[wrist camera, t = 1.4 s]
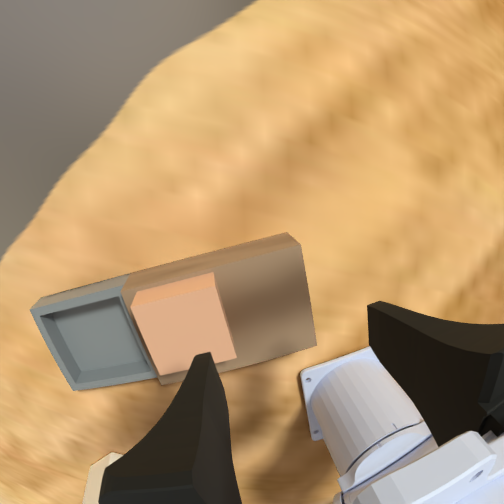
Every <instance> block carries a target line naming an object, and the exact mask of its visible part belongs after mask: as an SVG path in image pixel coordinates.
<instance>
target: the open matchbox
mask: <svg viewBox="0 0 504 504" xmlns="http://www.w3.org/2000/svg"><path fill="white" fill-rule="evenodd" d="M211 272H214V276H215V279H216V283H217V286H218V290H219V293H220V297H221V300H222V304H223V307H224V310H225V314H226V317H227V321H228V324H229V327H230V331H231V334H232V337H233V341H234V346H235V351H236V356H237V358H235V359H231V360H227V361H223V362H219V363H215V366H216V369H217V371H218V373H221V372H225V371H229V370H233V369H237V368H241V367H245V366H249V365H252V364H256V363H260V362H264V361H267V360H271V359H274V358H278V357H281V356H285V355H288V354H291V353H295V352H298V351H301V350H304V349H308V348H311V347H314V346H317V342H316V335H315V328H314V322H313V315H312V309H311V302H310V296H309V290H308V284H307V278H306V272H305V266H304V260H303V255H302V249H301V244H300V243H298V242H297V241H296V240H295V239H294V238H293V237H292V236H291V235H289V234H288V233H287V232H286V233H283V234H279V235H275V236H271V237H267V238H263V239H259V240H255V241H251V242H248V243H244V244H240V245H236V246H232V247H228V248H224V249H221V250H217V251H213V252H209V253H205V254H201V255H198V256H194V257H190V258H186V259H182V260H179V261H175V262H171V263H167V264H164V265H160V266H156V267H152V268H149V269H145V270H141V271H137V272H134V273H130V275H129V277H128V279H127V280H126V282H125V284H124V286H123V288H122V290H121V291H120V292H121V294H122V297H123V299H124V302H125V304H126V307H127V309H128V312H129V314H130V317H131V319H132V322H133V324H134V326H135V329H136V331H137V333H138V336H139V338H140V340H141V343H142V345H143V347H144V349H145V352H146V354H147V356H148V358H149V360H150V362H151V365H152V367H153V369H154V371H155V373H156V375H157V377H158V379H159V381H160V383H161V385H166V384H171V383H176V382H181V381H184V379H185V377H186V375H187V372H188V370H184V371H179V372H175V373H170V374H165V375H160V374H159V372H158V370H157V367H156V365H155V363H154V361H153V359H152V357H151V354H150V352H149V350H148V348H147V345H146V343H145V341H144V339H143V336H142V334H141V332H140V329H139V327H138V325H137V322H136V320H135V317H134V315H133V312H132V310H131V305H132V302H133V300H134V297H135V295H136V293H137V292H138V291H141V290H145V289H149V288H153V287H157V286H161V285H165V284H169V283H173V282H177V281H180V280H184V279H188V278H192V277H196V276H200V275H204V274H207V273H211Z"/></svg>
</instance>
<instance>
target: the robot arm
mask: <svg viewBox="0 0 504 504" xmlns="http://www.w3.org/2000/svg"><path fill="white" fill-rule="evenodd" d="M367 311H368V331H369V345H370V346H369V347H367V348H364V349H361V350H359V351H356V352H353V353H350V354H348V355H345V356H342V357H339V358H336V359H333V360H331V361H328V362H325V363H322V364H319V365H316V366H312V367H309V368H306V369H304V370H302V371H301V373H300V377H301V383H302V388H303V394H304V399H305V405H306V410H307V416H308V422H309V427H310V433H311V438H312V440H314V441H317V440H320V439H324V441H325V444H326V446H327V448H328V450H329V452H330V455H331V457H332V459H333V461H334V464H335V466H336V468H337V470H338V472H339V474H340V478H338V479H337V481H338V483H339V485H340V487H341V490H342V491H341V492H339V493H337V494H336V495H335V496H334V498H333V503H332V504H504V324H469V323H460V322H454V321H448V320H443V319H439V318H435V317H431V316H427V315H424V314H420V313H417V312H414V311H411V310H408V309H405V308H402V307H399V306H396V305H393V304H389V303H386V302H382V301H378V302H375V303H372V304H370V305H367ZM307 378H309V379H308V380H306V379H307ZM393 378H394V379H393ZM398 384H399V385H398ZM402 389H403V390H404V391H405V392H404V391H403V390H402ZM407 395H408V396H409V397H408V396H407ZM98 503H99V504H242V502H241V498H240V494H239V489H238V485H237V481H236V476H235V471H234V466H233V461H232V453H231V440H230V426H229V413H228V406H227V401H226V396H225V391H224V387H223V385H222V382H221V379H220V377H219V374H218V371H217V369H216V366H215V363H214V360H213V358H212V355H211V352H206V353H202V354H198V355H195V357H194V358H193V361H192V363H191V366H190V368H189V370H188V372H187V375H186V377H185V379H184V381H183V383H182V385H181V387H180V389H179V391H178V393H177V394H176V396H175V398H174V399H173V401H172V403H171V404H170V406H169V408H168V409H167V411H166V412H165V413H164V415H163V416H162V418H161V419H160V420H159V421H158V423H157V424H156V425H155V426H154V427H153V428H152V429H151V430H150V431H149V433H148V434H147V435H146V436H145V437H144V438H143V439H142V440H141V441H140V442H139V443H138V444H136V445H135V446H134V447H133V448H132V449H131V450H129V451H128V452H127V453H126V454H124V455H123V456H122V457H120V458H119V459H117V460H116V461H115V462H113V463H112V464H110V465H109V466H107V467H105V470H104V473H103V477H102V482H101V488H100V494H99V500H98Z"/></svg>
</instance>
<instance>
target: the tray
mask: <svg viewBox="0 0 504 504" xmlns="http://www.w3.org/2000/svg"><path fill="white" fill-rule="evenodd" d="M129 275H130V274H126V275H122V276H119V277H115V278H111V279H108V280H104V281H100V282H96V283H93V284H89V285H85V286H82V287H78V288H74V289H71V290H67V291H63V292H60V293H56V294H53V295H49V296H45V297H42V298H40V299H39V300H38V301H37V302H36V303H35V305H34V306H33V307H32V308H31V309H30V311H31V314H32V316H33V318H34V320H35V322H36V324H37V326H38V328H39V330H40V332H41V334H42V336H43V338H44V340H45V342H46V344H47V346H48V348H49V350H50V352H51V354H52V356H53V357H54V359H55V361H56V363H57V365H58V366H59V368H60V370H61V372H62V373H63V375H64V377H65V378H66V380H67V382H68V383H69V385H70V387H71V388H72V390H73V391H76V390H83V389H91V388H98V387H104V386H111V385H117V384H123V383H129V382H135V381H140V380H146V379H151V378H156V377H157V375H156V373H155V371H154V369H153V367H152V365H151V362H150V360H149V358H148V356H147V354H146V352H145V349H144V347H143V345H142V343H141V340H140V338H139V336H138V333H137V331H136V329H135V326H134V324H133V322H132V319H131V317H130V314H129V312H128V309H127V307H126V304H125V302H124V299H123V297H122V294H121V292H120V291H121V290H122V288H123V286H124V284H125V282H126V280H127V279H128V277H129Z"/></svg>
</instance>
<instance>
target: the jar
mask: <svg viewBox="0 0 504 504" xmlns="http://www.w3.org/2000/svg"><path fill="white" fill-rule="evenodd" d="M122 456H123V455H122V454H118V453H114V452H111V453H109V454H108V455H106V456H105V457H103V458H102V459H100V460H99V461H97V462H96V463H94V464H93V465H91V466H90V470H89V474H88V479H87V483H86V488H85V493H84V498H83V503H82V504H99V503H98V500H99V494H100V488H101V482H102V477H103V473H104V470H105V467H107V466H109V465H110V464H112V463H113V462H115V461H116V460H117V459H119V458H120V457H122Z"/></svg>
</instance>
